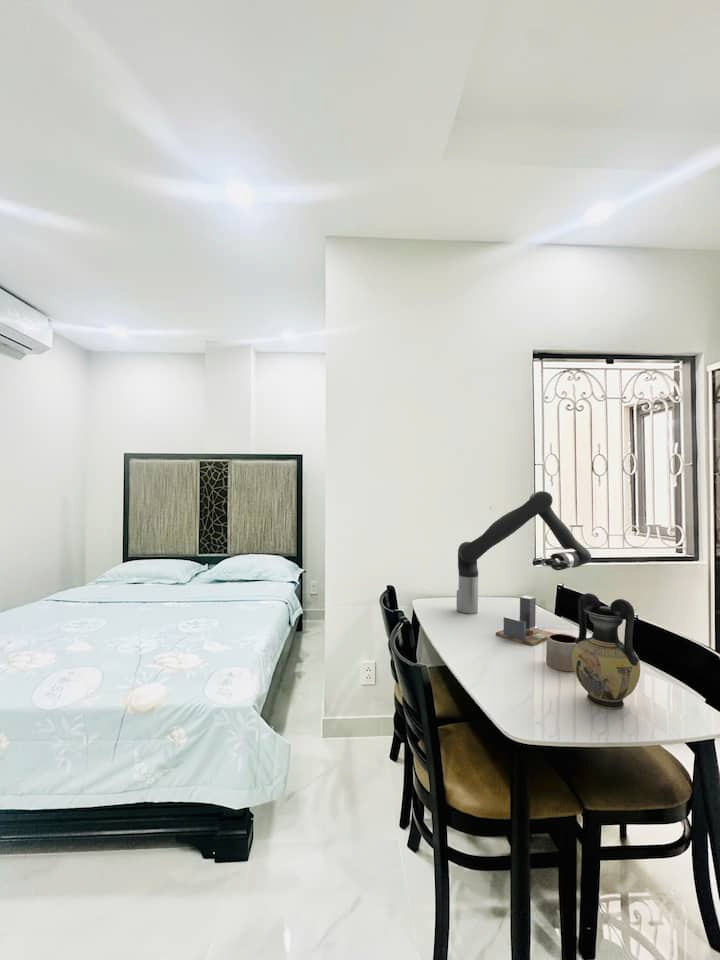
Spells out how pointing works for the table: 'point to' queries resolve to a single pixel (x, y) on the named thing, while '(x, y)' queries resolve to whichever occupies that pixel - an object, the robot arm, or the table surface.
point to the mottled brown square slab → (528, 637)
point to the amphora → (606, 652)
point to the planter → (560, 651)
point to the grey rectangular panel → (515, 628)
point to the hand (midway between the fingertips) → (542, 564)
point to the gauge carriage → (528, 613)
